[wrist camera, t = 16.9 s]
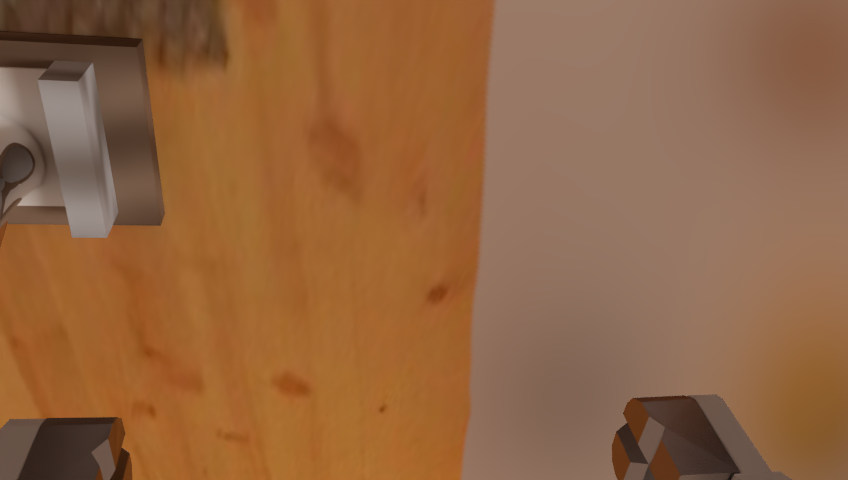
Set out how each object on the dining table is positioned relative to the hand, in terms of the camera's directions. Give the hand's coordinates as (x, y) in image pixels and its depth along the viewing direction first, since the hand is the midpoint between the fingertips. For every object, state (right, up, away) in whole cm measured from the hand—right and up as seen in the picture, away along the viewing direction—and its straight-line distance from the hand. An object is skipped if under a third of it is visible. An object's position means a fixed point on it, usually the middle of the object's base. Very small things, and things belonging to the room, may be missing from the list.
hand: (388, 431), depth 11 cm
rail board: (-26, +10, +31) cm, 41 cm away
